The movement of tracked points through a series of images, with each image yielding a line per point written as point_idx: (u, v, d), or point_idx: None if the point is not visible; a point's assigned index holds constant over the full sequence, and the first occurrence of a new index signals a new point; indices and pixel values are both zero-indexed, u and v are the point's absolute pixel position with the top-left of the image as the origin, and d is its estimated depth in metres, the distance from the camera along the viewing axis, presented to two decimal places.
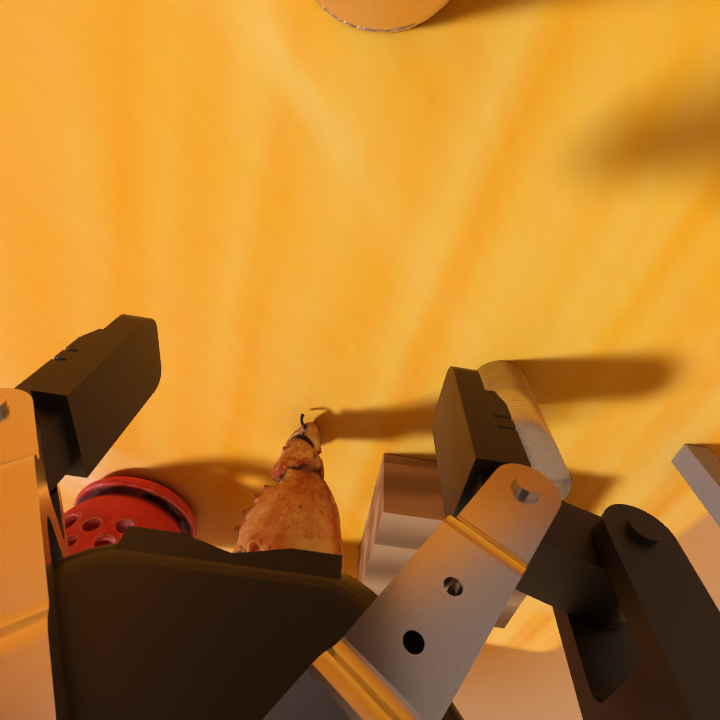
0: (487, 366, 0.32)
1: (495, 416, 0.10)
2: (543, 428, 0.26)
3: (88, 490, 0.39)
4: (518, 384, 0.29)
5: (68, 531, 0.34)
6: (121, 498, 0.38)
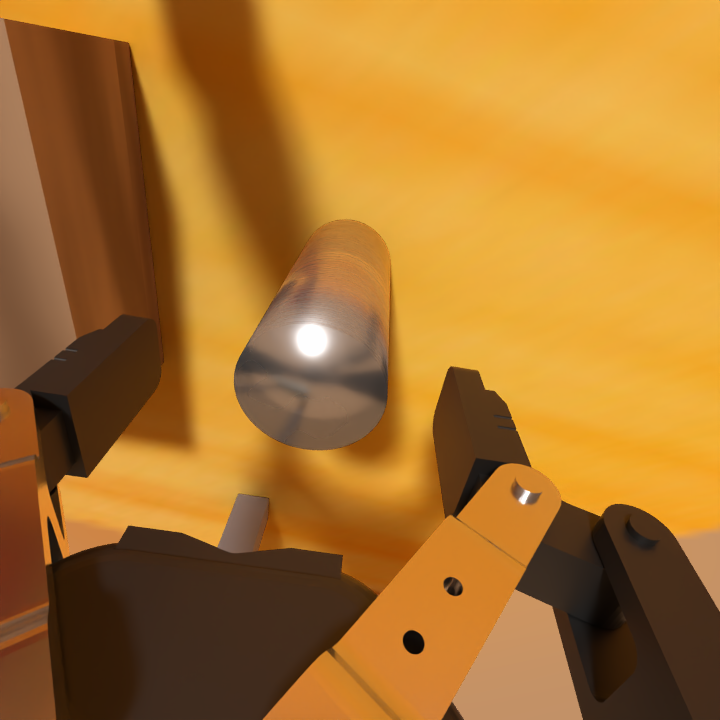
0: (384, 244, 0.19)
1: (495, 416, 0.10)
2: None
3: None
4: None
5: None
6: None
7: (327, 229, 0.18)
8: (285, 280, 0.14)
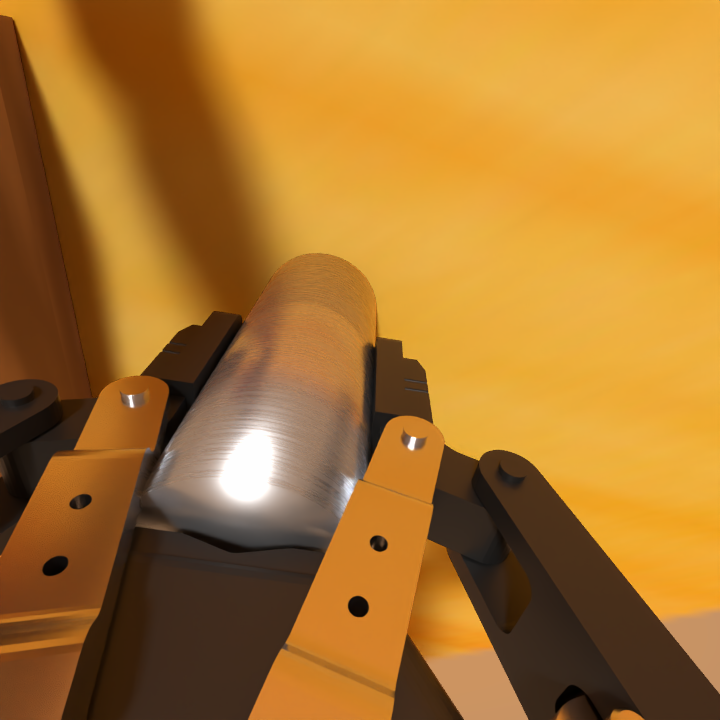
0: (367, 284, 0.15)
1: (411, 381, 0.11)
2: None
3: None
4: None
5: None
6: None
7: (292, 268, 0.14)
8: (224, 353, 0.10)
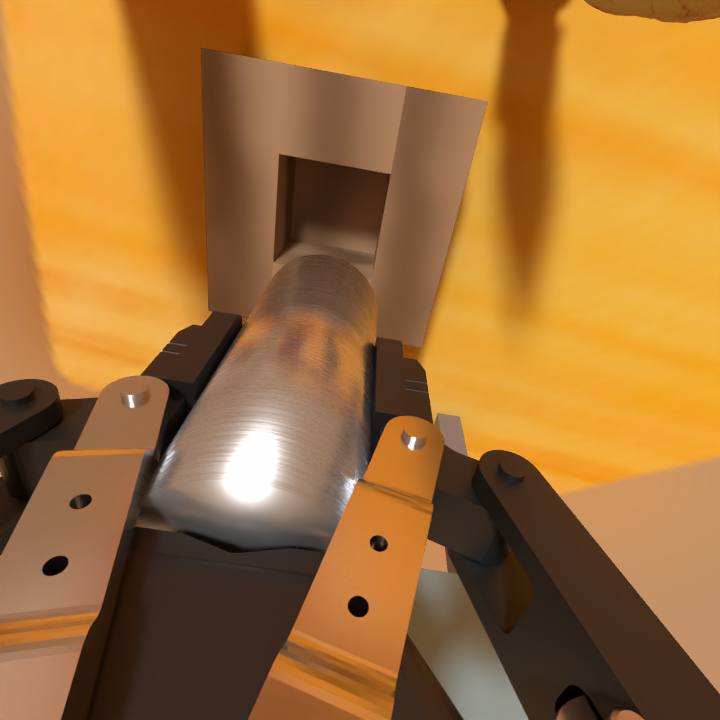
0: (368, 286, 0.15)
1: (411, 381, 0.11)
2: None
3: None
4: None
5: None
6: None
7: (293, 270, 0.14)
8: (225, 354, 0.10)
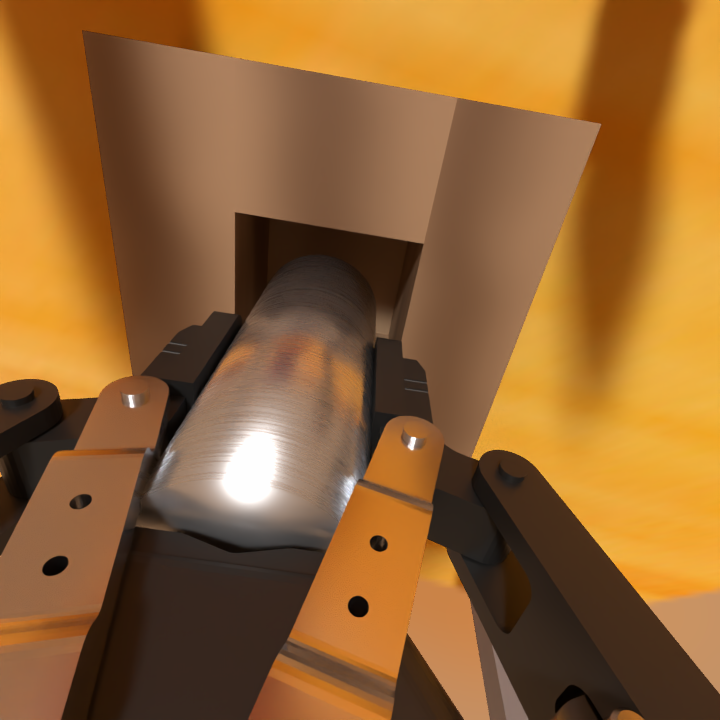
0: (367, 285, 0.15)
1: (411, 381, 0.11)
2: None
3: None
4: None
5: None
6: None
7: (292, 269, 0.14)
8: (224, 354, 0.10)
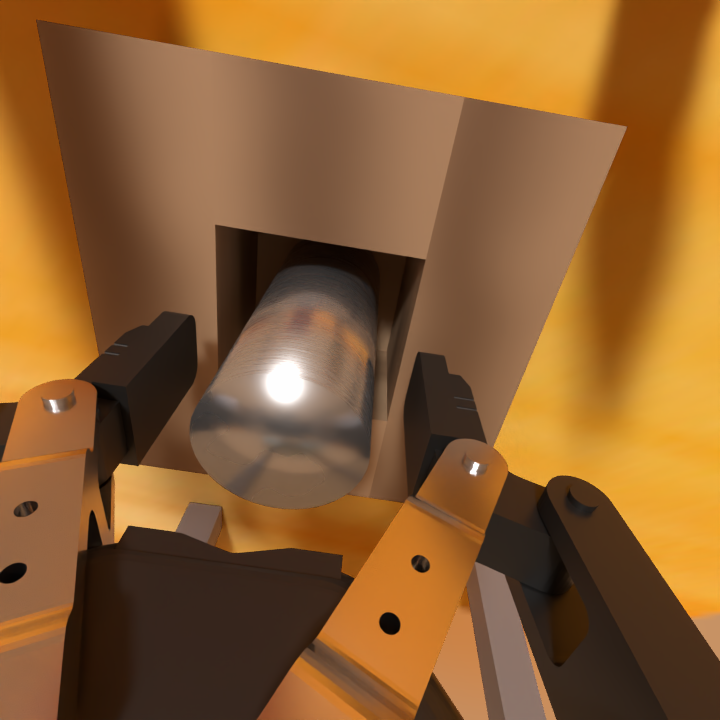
0: (372, 258, 0.17)
1: (458, 398, 0.11)
2: None
3: None
4: None
5: None
6: None
7: (309, 243, 0.16)
8: (258, 305, 0.13)
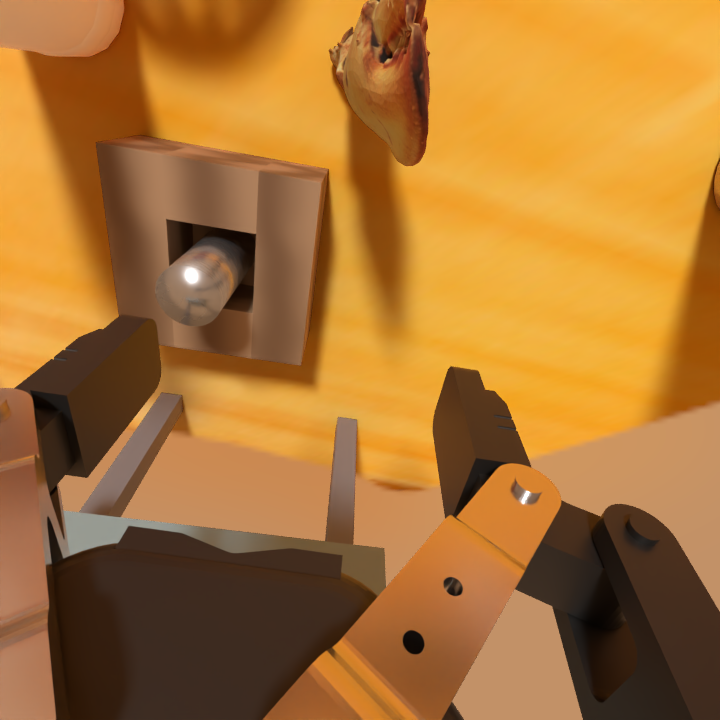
0: (250, 236, 0.34)
1: (495, 416, 0.10)
2: (232, 293, 0.30)
3: None
4: (248, 267, 0.33)
5: None
6: None
7: (216, 228, 0.33)
8: None
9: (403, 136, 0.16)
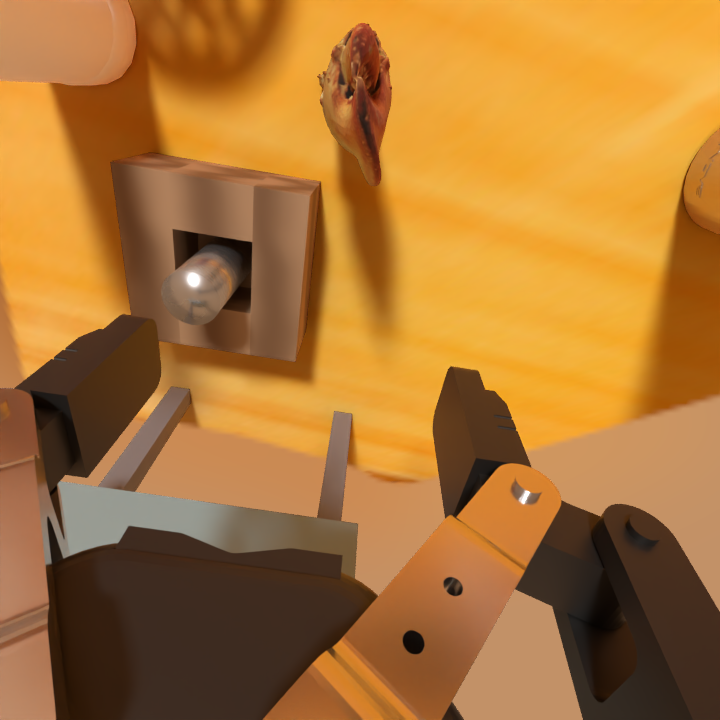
0: (250, 243, 0.38)
1: (495, 416, 0.10)
2: (231, 295, 0.33)
3: None
4: (247, 271, 0.36)
5: None
6: None
7: None
8: None
9: (362, 163, 0.19)
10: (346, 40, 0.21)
